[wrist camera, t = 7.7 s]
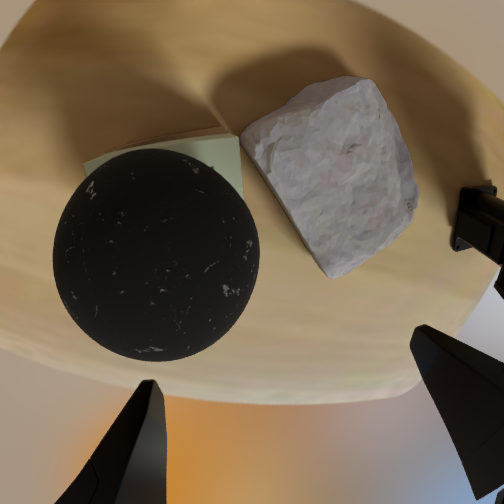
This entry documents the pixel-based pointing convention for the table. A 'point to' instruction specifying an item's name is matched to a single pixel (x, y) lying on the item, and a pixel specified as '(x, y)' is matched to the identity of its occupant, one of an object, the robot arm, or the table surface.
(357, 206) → the stone block
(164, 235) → the billiard ball
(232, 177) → the tower cap
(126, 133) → the table surface
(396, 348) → the table surface
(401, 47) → the table surface
